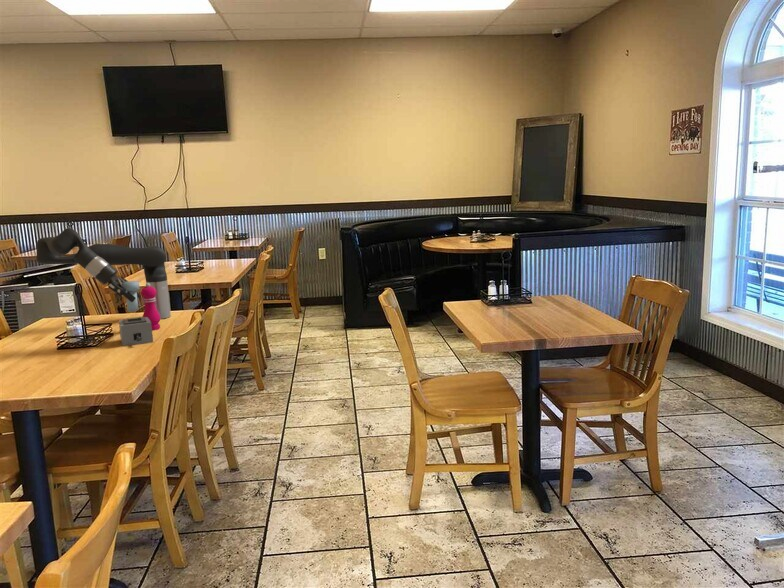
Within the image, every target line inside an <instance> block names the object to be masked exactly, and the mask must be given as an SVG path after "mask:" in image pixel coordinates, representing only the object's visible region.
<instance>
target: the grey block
mask: <svg viewBox="0 0 784 588" xmlns="http://www.w3.org/2000/svg"><path fill="white" fill-rule="evenodd" d="M118 327H119V335H120V341H121V345H122V347H127V346H135V345H141V344H148V343H149V344H150V343H154V338H153V330H152V326H151V321H150V320H149V318H148V317H143V316H139V317H132V318H123V319H120V320H118ZM135 333H139V337H141V341H137V340H136V337H134V334H135Z"/></svg>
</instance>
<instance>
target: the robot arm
mask: <svg viewBox="0 0 784 588" xmlns="http://www.w3.org/2000/svg"><path fill="white" fill-rule="evenodd" d="M35 245H36V246H35V247H36V252H35V253H36V254H35V255H36V257H35V258H36V262H37V263H38V264H41V265H42V264H43V265H72V264H73V265H74V264H75V265H79V266H80V267H81V268H83V269H84V270H85V271H86V272H87V273H88V274H89V275H91V276H92V277H93V278H94V279H96V281H97V282H99V283H101V284H102V285H103V286H105V285H108V286H107V288H109V289H110V290H111V291H112V292H114V293H115V294H116V295H118V296H119V297H124V298H125V299H126V298H127V299H128V300H129V301H131V302H133V301H134V300H135V299H136V298H135V297H134V296H133V295H132V294H131V293H129V292H128V291H127V290H126V289H125V288H124V286H123V284H122V282H127V281H128V280H127V279H126V278H125V277H124V276H121V277H119V276H118V269H116V268H115V267H114V266H122V265H123V266H124V265H127V266H128V265H140V266H143V274H144V278H145V285H146V284H147V283H149V284H150V287H153V288H155V290H156V295H155V298H156V299H155V300H156V301H155V307H156V309H157V311H158V313H159V315H160V320H162V319H168V318H171V316H172V315H171V304H170V294H169V285H168V276H167V271H166V265H165V264H166V263H165V262H166V260H167V253H166V251H165V250H164V249H163V248H162V247H159V246H158V245H154V244H153V245H152V244H151V245H148V246H147V247H129V246H123V245H119V244H118V245H117V244H113V243H112V244H111V243H95V244H91V245H89V246H88V245H87V244H86V243H85V241H84V240H83V238H82V237H81V236H80V234H79V233H78V232H77V231H76V230H75V229H73V228H68V227H67V228H65V229H64V230H62V231H61V232H60V233H59V234H58V235H56V236H47V237H46V236H45V237H41V238H39V239H37V241H36V244H35ZM75 247H78V251H77V252H76V253H73V254H70V255H67V254H69V253H70V252H71V251H72V250H73V249H75ZM127 292H128V293H127ZM140 296H141V293H139V292H138V291H137V299H139V298H140Z"/></svg>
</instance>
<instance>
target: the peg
mask: <svg viewBox="0 0 784 588" xmlns="http://www.w3.org/2000/svg"><path fill="white" fill-rule="evenodd" d="M122 284H123V286H124V288H125V289H126V290H127V291H128V292H129V293H131V294H132V295H133V296H134V297H135V298H136V299H135V300H134V301H133V302H131V301H129V300H128V299H127V298H126V297H125V299H126V309H127V313H128V312H129V313H133V312H137V311H139V304H138V303H139V302H138V298H137V292H138V291H139V290H140V289H141V288H140V281H138V280H131V281H130V280H129V281H128V280H127V282H122ZM128 292H127V293H128Z"/></svg>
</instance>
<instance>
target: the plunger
mask: <svg viewBox="0 0 784 588" xmlns="http://www.w3.org/2000/svg"><path fill="white" fill-rule="evenodd" d="M134 337H136V340H137V341H141V337H139V333H135V334H134Z"/></svg>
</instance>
